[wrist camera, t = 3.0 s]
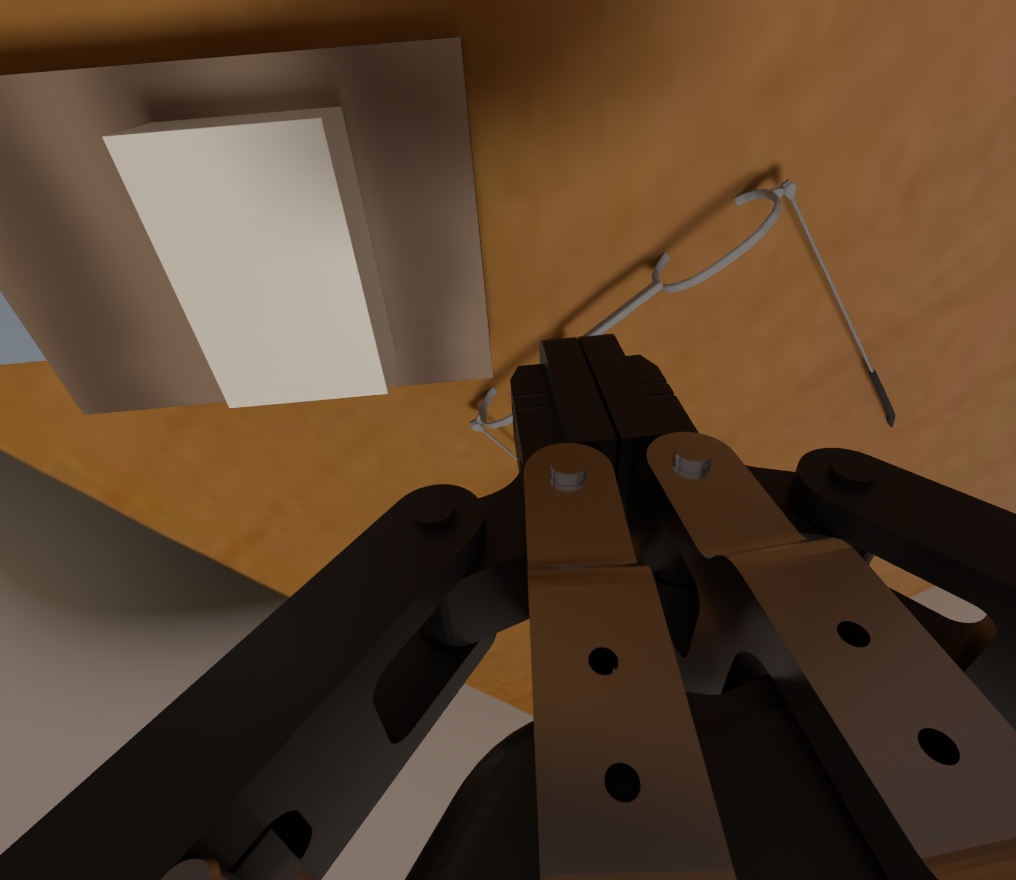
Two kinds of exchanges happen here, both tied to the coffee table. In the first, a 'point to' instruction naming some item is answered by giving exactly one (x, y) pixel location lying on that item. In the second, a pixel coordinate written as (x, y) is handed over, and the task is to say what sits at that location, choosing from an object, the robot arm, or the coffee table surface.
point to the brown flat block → (131, 255)
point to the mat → (15, 338)
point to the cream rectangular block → (265, 250)
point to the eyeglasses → (655, 286)
